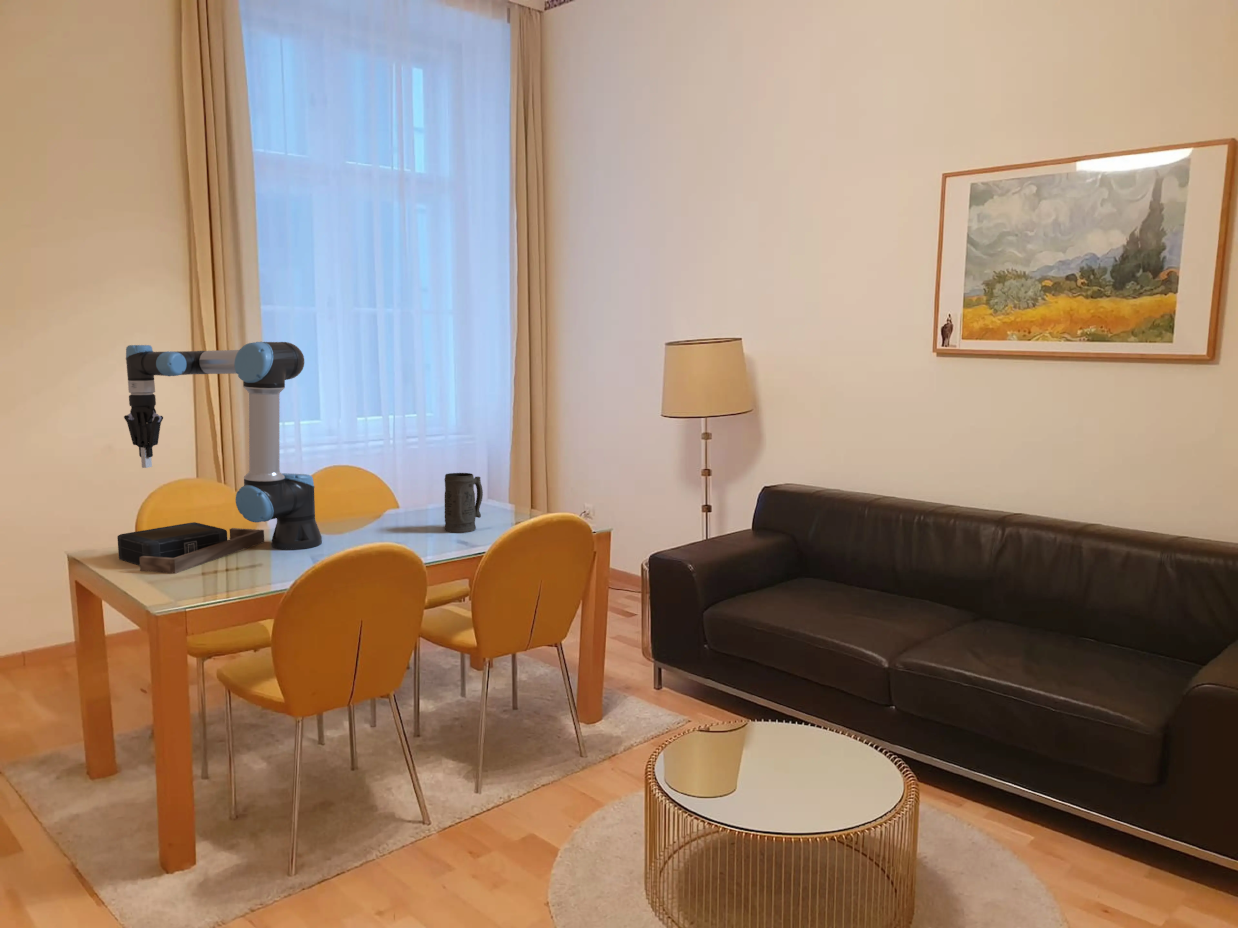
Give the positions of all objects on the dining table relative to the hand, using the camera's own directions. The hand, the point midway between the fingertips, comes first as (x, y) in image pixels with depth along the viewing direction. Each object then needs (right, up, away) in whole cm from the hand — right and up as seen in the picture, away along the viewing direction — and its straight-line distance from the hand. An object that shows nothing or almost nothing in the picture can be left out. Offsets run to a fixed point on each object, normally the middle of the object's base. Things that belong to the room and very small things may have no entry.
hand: (146, 467), depth 294 cm
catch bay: (+26, -27, -15) cm, 40 cm away
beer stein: (+98, -22, +26) cm, 104 cm away
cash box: (+17, -27, -16) cm, 36 cm away
